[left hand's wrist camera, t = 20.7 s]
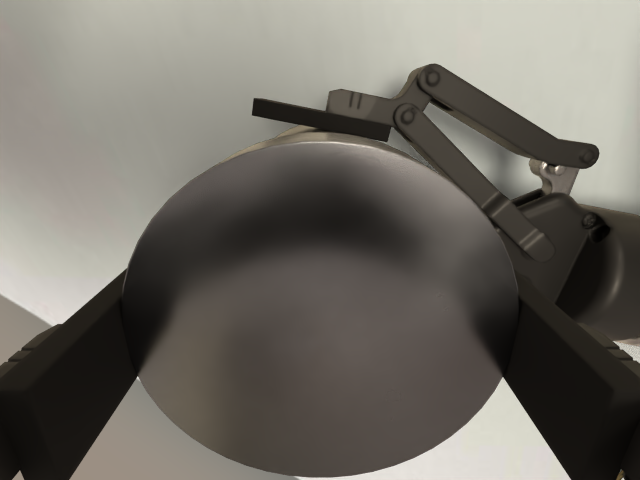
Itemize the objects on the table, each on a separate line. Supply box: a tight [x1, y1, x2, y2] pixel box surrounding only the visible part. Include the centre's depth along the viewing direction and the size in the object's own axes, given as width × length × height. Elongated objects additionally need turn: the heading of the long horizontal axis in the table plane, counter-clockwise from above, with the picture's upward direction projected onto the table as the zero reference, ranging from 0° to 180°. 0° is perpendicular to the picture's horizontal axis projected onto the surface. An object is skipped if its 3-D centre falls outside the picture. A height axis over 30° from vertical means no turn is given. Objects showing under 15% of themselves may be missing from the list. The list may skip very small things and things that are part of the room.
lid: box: [121, 133, 520, 477], centre depth 11 cm, size 11×11×2 cm
